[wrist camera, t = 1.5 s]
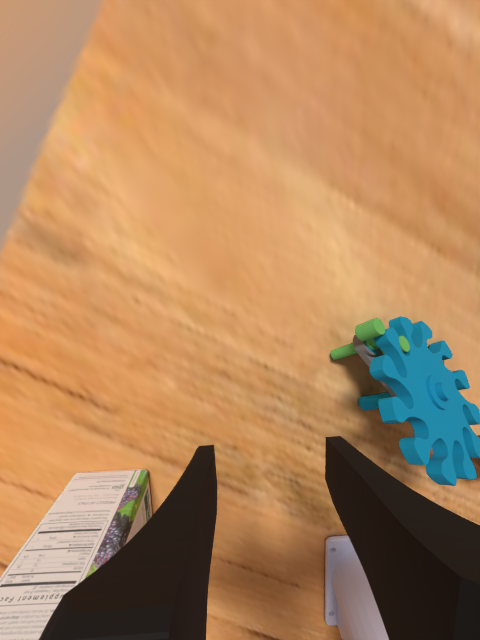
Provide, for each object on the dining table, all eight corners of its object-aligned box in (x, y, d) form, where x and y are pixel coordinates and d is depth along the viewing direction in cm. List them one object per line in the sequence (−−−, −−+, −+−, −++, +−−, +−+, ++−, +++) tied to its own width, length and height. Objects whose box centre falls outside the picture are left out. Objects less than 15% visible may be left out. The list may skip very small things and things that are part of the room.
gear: (498, 397, 21) (492, 534, 14) (416, 407, 25) (384, 515, 19) (405, 275, 20) (357, 362, 14) (338, 308, 25) (280, 385, 18)
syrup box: (155, 526, 24) (47, 922, 10) (82, 530, 24) (-138, 940, 9) (148, 466, 23) (14, 818, 8) (72, 470, 22) (-198, 836, 8)
